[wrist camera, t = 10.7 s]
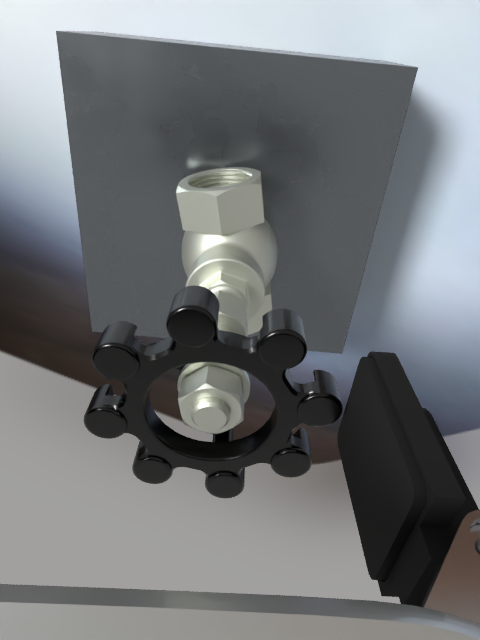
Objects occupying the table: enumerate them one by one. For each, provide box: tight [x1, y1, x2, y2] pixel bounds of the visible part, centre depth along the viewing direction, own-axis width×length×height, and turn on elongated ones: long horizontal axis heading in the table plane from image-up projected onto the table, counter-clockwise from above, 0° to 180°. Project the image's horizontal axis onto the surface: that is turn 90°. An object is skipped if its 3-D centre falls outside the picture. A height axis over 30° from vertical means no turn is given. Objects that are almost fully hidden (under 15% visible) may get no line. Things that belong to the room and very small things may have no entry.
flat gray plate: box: [56, 31, 418, 353], centre depth 23 cm, size 14×14×5 cm
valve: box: [84, 167, 343, 498], centre depth 16 cm, size 7×7×12 cm
